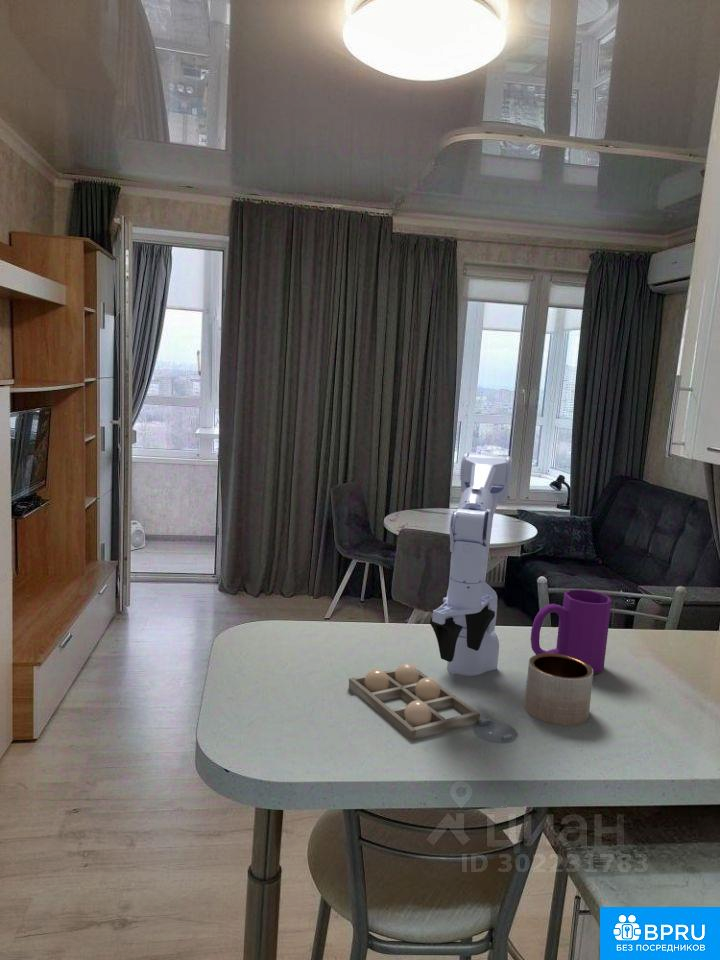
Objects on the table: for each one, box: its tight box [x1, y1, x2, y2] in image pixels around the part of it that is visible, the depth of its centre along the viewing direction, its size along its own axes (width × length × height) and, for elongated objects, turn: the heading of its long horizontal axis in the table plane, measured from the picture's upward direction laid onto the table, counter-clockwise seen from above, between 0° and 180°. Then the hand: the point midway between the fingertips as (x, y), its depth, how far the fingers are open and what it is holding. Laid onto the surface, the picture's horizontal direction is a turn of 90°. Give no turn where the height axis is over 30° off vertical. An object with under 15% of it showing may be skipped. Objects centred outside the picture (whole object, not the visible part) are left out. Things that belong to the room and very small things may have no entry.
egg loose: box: [414, 677, 440, 702], centre depth 121 cm, size 4×4×4 cm
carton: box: [348, 668, 481, 741], centre depth 120 cm, size 14×20×3 cm
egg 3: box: [404, 700, 431, 727], centre depth 112 cm, size 4×4×4 cm
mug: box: [530, 589, 612, 675], centre depth 142 cm, size 9×16×15 cm, turn 96°
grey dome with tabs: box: [473, 718, 519, 744], centre depth 112 cm, size 7×7×2 cm
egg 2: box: [395, 662, 419, 686], centre depth 127 cm, size 4×4×4 cm
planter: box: [523, 653, 594, 726], centre depth 120 cm, size 11×11×10 cm
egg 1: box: [364, 668, 389, 693], centre depth 123 cm, size 4×4×4 cm
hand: (460, 654), depth 121 cm, fingers open, 7 cm apart
